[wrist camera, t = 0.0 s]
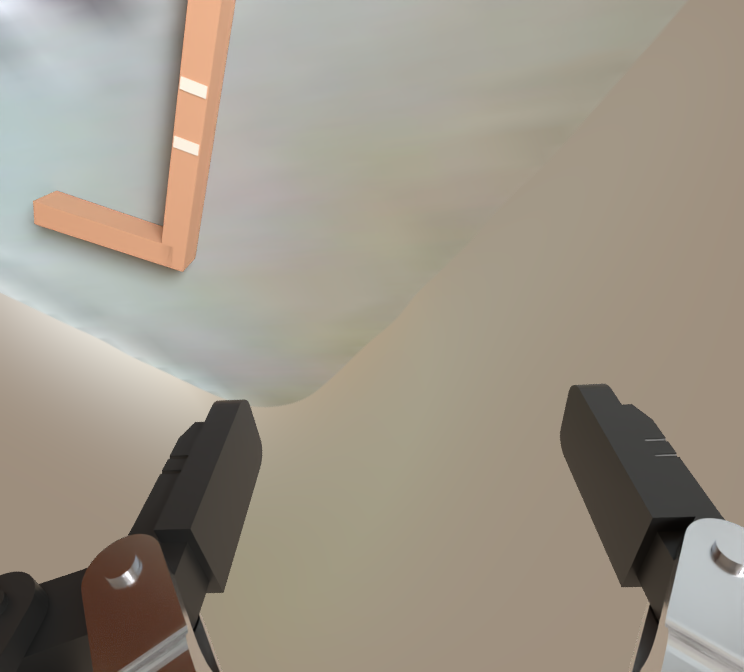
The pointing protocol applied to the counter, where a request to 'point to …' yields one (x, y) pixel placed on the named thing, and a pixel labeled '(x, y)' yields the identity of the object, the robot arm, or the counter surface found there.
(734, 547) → the robot arm
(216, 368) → the counter surface
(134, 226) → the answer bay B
